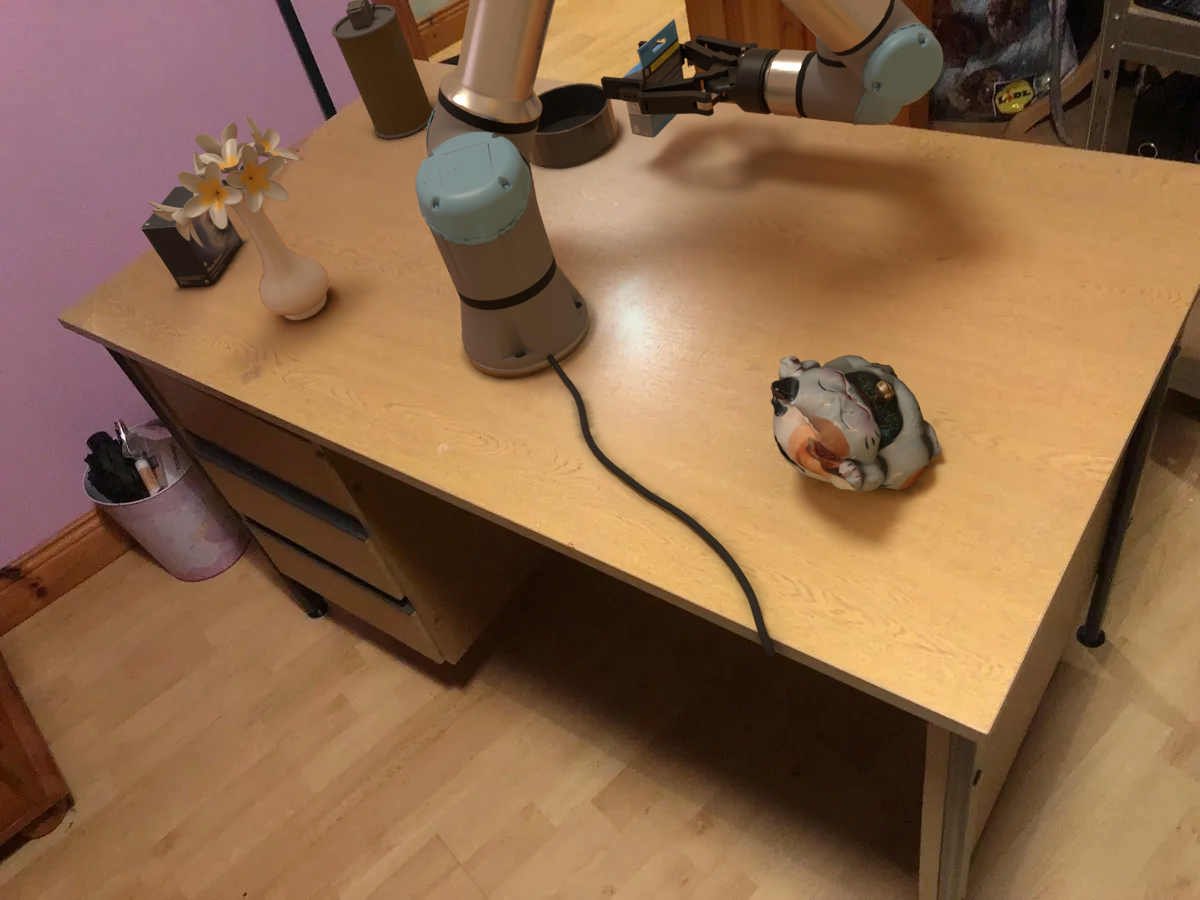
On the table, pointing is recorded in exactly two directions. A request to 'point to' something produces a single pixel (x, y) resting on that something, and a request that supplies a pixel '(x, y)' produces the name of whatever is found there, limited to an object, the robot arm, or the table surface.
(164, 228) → the small box
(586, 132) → the round brown bowl
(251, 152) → the flower vase
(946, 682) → the table surface
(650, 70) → the label tape box
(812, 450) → the lucky cat figurine
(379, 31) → the canister
